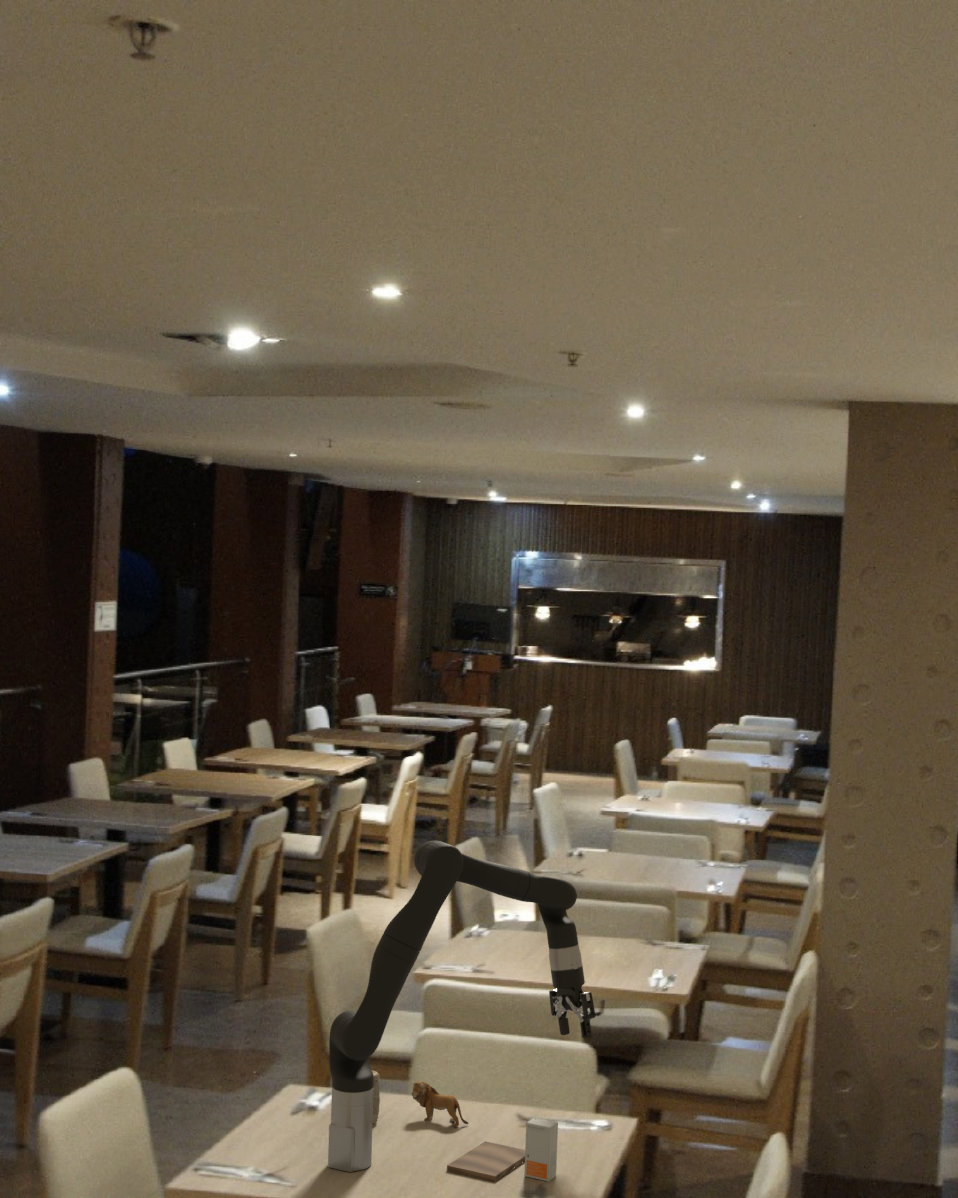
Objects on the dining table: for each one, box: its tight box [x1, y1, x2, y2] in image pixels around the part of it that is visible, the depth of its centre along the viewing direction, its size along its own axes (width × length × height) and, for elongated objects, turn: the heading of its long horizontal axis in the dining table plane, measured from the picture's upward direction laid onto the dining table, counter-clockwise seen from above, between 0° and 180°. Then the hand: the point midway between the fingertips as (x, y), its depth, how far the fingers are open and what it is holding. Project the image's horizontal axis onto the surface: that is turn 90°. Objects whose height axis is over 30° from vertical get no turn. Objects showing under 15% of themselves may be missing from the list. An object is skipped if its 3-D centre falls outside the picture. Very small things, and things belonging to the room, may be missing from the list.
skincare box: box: [523, 1117, 559, 1182], centre depth 343 cm, size 6×4×12 cm
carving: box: [371, 1069, 381, 1125], centre depth 375 cm, size 6×8×12 cm
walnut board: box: [446, 1141, 525, 1183], centre depth 350 cm, size 18×12×1 cm, turn 152°
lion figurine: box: [411, 1080, 469, 1128], centre depth 377 cm, size 15×5×9 cm, turn 70°
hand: (576, 1036), depth 364 cm, fingers open, 8 cm apart
